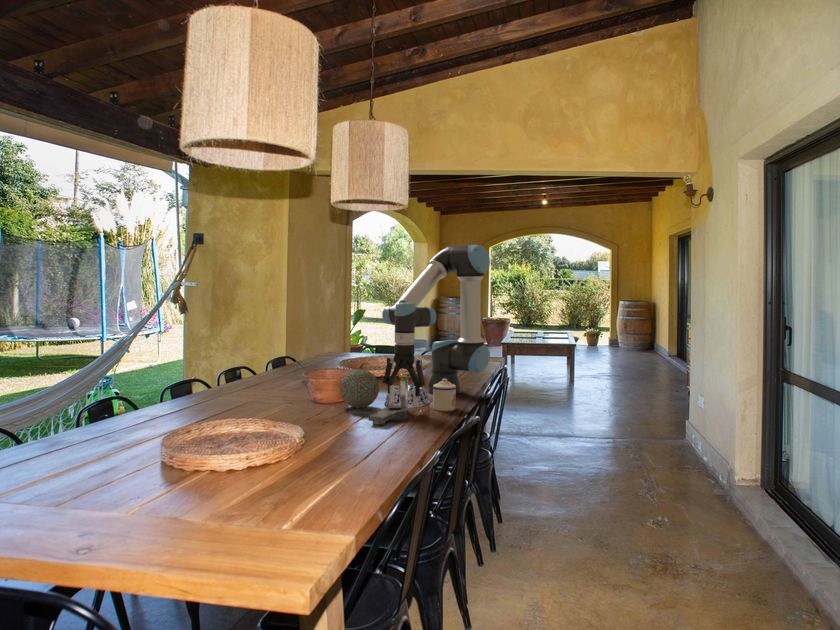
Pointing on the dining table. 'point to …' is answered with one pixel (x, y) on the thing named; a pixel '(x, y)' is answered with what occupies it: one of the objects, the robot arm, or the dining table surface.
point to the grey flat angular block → (382, 414)
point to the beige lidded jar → (444, 396)
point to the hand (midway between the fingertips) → (403, 403)
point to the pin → (403, 389)
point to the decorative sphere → (359, 388)
